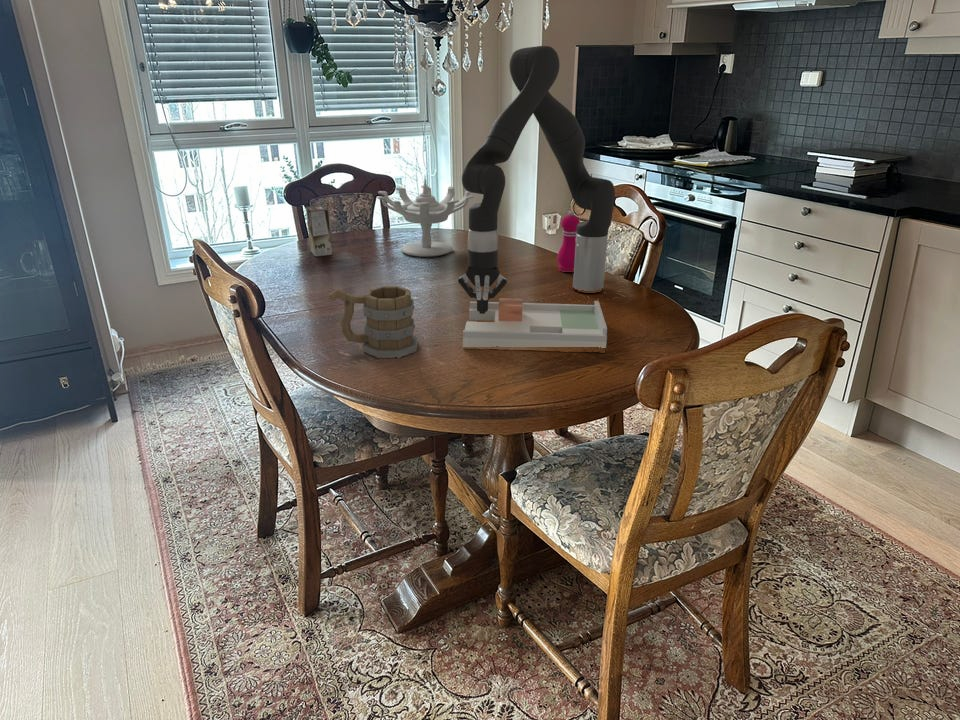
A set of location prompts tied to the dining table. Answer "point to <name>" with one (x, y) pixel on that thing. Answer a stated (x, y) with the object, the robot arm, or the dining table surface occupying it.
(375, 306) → the tankard
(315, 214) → the coffee box
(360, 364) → the dining table surface
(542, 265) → the dining table surface
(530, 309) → the box
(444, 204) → the candelabra
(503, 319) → the block
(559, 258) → the pepper mill
